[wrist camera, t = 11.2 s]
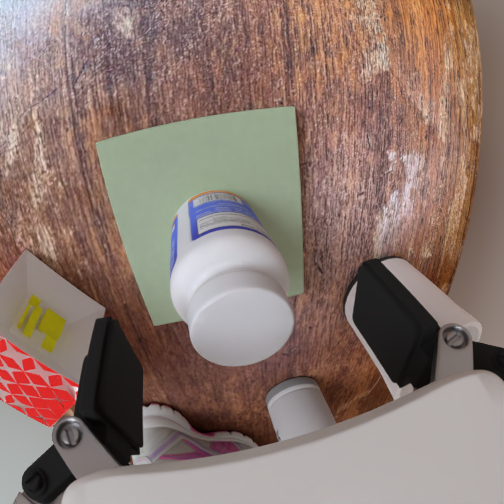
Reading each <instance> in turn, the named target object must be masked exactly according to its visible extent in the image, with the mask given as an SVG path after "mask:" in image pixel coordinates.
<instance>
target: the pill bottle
mask: <svg viewBox="0 0 504 504" xmlns="http://www.w3.org/2000/svg"><path fill="white" fill-rule="evenodd" d="M288 290H289V273H288V269H287V266H286V263H285V261H284V259H283V257H282V255H281V253H280V252H279V250H278V249H277V247H276V245H275V244H274V242H273V241H272V239H271V238H270V236H269V235H268V233H267V231H266V230H265V228H264V227H263V225H262V224H261V222H260V221H259V219H258V218H257V216H256V215H255V213H254V212H253V210H252V209H251V207H250V206H249V205H248V204H247V203H246V202H245V201H244V200H243V199H242V198H241V197H239V196H238V195H236V194H234V193H232V192H229V191H225V190H207V191H203V192H200V193H198V194H196V195H194V196H192V197H191V198H189V199H188V200H187V201H186V202H185V203H183V205H182V206H181V207H180V208H179V210H178V211H177V213H176V215H175V217H174V220H173V224H172V228H171V254H170V292H171V298H172V302H173V305H174V307H175V309H176V311H177V313H178V314H179V315H180V317H181V318H182V319H183V320H184V321H185V322H186V323H187V324H188V328H189V334H190V339H191V342H192V345H193V347H194V348H195V349H196V351H197V352H198V353H199V354H200V355H201V356H202V357H204V358H205V359H207V360H208V361H211V362H213V363H216V364H219V365H224V366H244V365H250V364H253V363H256V362H259V361H262V360H264V359H266V358H268V357H270V356H272V355H273V354H275V353H276V352H277V351H278V350H279V349H281V348H282V347H283V345H284V344H285V343H286V342H287V340H288V339H289V337H290V335H291V333H292V330H293V327H294V313H293V310H292V307H291V305H290V303H289V301H288V298H287V294H288Z"/></svg>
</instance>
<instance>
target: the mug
mask: <svg viewBox="0 0 504 504" xmlns="http://www.w3.org/2000/svg"><path fill="white" fill-rule="evenodd" d="M378 260H380V261H381V262H382V263H383V264H384V265H385V266H386V268H387V269H388V270H389V271H390V272H391V273H392V274H393V275H394V276H395V277H396V278H397V279H398V280H399V281H400V282H401V283H402V284H403V285H404V286H405V287H406V288H407V289H408V290H409V291H410V292H411V294H412V295H413V296H414V297H415V298H416V299H417V300H418V301H419V302H420V303H421V304H422V305H423V307H424V308H425V309H426V310H427V311H428V312H429V313H430V314H431V315H432V317H433V318H434V319H435V320H436V321H437V322H438V325H439V326H440V327H442V326H444V325H445V324H449V323H456V324H459V325H461V326H463V327H465V328H466V329H467V330H468V331H469V333H470V334H471V337H472V341H475V342H478V341H479V339H480V337H481V332H482V326H481V324H480V323H479V322H478V321H477V320H476V319H475V318H474V317H472V316H471V315H470V314H469V313H467V312H466V311H465V310H463V309H462V308H461V307H460V306H458V305H457V304H456V303H455V302H453V301H452V300H451V299H450V298H449V297H448V296H447V295H446V294H445V293H443V292H442V291H441V290H440V289H439V288H438V287H437V286H435V285H434V284H433V283H432V282H431V281H430V280H429V279H427V278H426V277H425V276H424V275H423V274H422V273H420V272H419V271H418V270H417V269H416V268H414V267H413V266H412V265H411V264H410V263H408V262H407V261H406V260H405V259H403V258H400V257H396V256H391V257H384V258H381V259H378ZM357 279H358V275H357V276H356V277H355V279H354V280H353V281H352V282H351V284H350V286H349V288H348V290H347V292H346V295H345V298H344V314H345V317H346V319H347V320H348V322H349V324H350V325H351V327H352V328H353V330H354V331H355V333H356V335H357V336H358V338H359V339H360V341H361V342H362V344H363V346H364V347H365V349H366V350H367V352H368V353H369V355H370V357H371V358H372V360H373V361H374V363H375V365H376V366H377V368H378V370H379V371H380V373H381V374H382V376H383V378H384V380H385V382H386V384H387V387H388V389H389V391H390V393H391V395H392V397H393V399H394V400H396V399H398V398H401V397H403V396H405V395H407V394H409V393H411V392H413V386H412V385H411V383H410V384H408V385H406V386H404V387H402V388H399V386H398V385H397V383H393V382H392V381H391V379H390V378H389V376H388V375H387V373H386V372H385V370H384V368H383V367H382V365H381V364H380V362H379V361H378V359H377V358H376V356H375V355H374V353H373V351H372V350H371V348H370V347H369V345H368V344H367V342H366V341H365V339H364V338H363V336H362V335H361V333H360V332H359V330H358V329H357V327H356V326H355V324H354V322H353V318H352V314H353V308H354V301H355V294H356V286H357Z"/></svg>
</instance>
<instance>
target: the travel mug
mask: <svg viewBox="0 0 504 504" xmlns="http://www.w3.org/2000/svg"><path fill="white" fill-rule="evenodd" d="M265 401H266V404H267V408H268V411H269V413H270V417H271V420H272V423H273V426H274V429H275V432H276V435H277V438H278V441H279V442H280V441H284V440H287V439H291V438H294V437H298V436H301V435H304V434H308V433H311V432H314V431H317V430H320V429H323V428H326V427H329V426H332V425H335V424H336V422H335V420H334V418H333V416H332V413H331V411H330V409H329V407H328V405H327V403H326V401H325V399H324V397H323V395H322V393H321V390H320V388H319V386H318V384H317V382H316V381H315V380H314V379H312V378H309V377H296V378H292V379H289V380H286V381H283V382H281V383H280V384H278V385H276V386H275V387H274V388H272V389H271V390H270V391H269V393H268V394H267V396H266V400H265Z"/></svg>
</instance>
